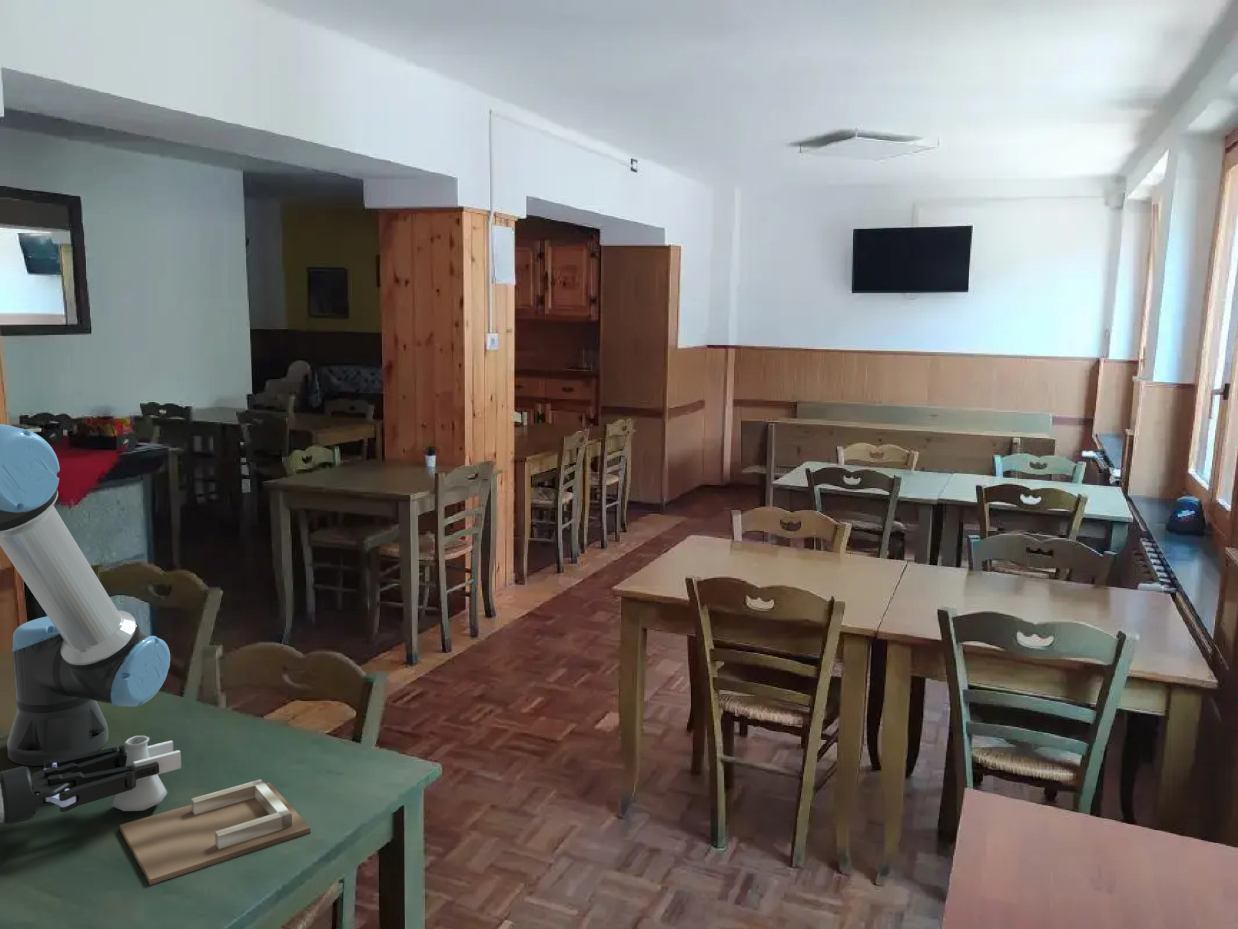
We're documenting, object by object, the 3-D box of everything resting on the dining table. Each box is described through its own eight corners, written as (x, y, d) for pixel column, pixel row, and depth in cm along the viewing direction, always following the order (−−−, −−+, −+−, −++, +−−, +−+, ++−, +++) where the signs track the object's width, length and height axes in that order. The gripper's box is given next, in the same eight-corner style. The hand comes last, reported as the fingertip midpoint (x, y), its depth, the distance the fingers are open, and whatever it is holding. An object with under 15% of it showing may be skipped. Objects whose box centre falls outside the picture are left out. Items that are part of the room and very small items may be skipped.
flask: (144, 816, 141) (141, 753, 139) (102, 809, 143) (98, 747, 141) (176, 792, 148) (173, 732, 146) (135, 786, 150) (132, 727, 148)
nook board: (119, 830, 139) (119, 812, 139) (269, 787, 153) (269, 770, 153) (150, 885, 126) (149, 866, 126) (310, 832, 140) (310, 815, 140)
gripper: (-7, 800, 140) (163, 756, 155) (9, 851, 127) (193, 798, 142) (-11, 752, 139) (161, 713, 153) (5, 799, 126) (191, 751, 141)
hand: (176, 754), depth 148 cm, fingers closed on flask, 3 cm apart
